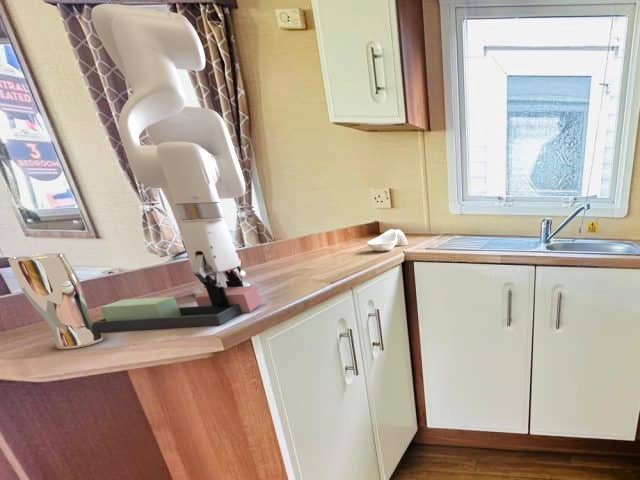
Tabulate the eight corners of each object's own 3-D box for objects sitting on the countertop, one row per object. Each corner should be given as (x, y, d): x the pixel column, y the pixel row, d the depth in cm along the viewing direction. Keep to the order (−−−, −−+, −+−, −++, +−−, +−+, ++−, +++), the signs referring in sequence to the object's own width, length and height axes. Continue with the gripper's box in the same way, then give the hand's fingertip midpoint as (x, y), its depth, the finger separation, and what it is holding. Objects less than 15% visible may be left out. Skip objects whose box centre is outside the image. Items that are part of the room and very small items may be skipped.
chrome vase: (102, 334, 79) (63, 251, 73) (110, 341, 75) (69, 254, 68) (51, 345, 74) (3, 257, 68) (56, 353, 70) (6, 261, 64)
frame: (130, 319, 88) (125, 310, 87) (242, 313, 90) (239, 303, 89) (96, 332, 80) (92, 322, 80) (220, 325, 82) (216, 315, 81)
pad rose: (216, 305, 94) (209, 288, 92) (262, 302, 95) (256, 285, 93) (201, 315, 89) (193, 297, 87) (250, 312, 90) (243, 294, 88)
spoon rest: (389, 252, 167) (386, 233, 164) (363, 252, 170) (359, 234, 166) (414, 244, 188) (412, 227, 185) (390, 245, 190) (388, 228, 187)
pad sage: (131, 318, 87) (122, 299, 85) (181, 315, 88) (174, 296, 86) (108, 327, 82) (99, 307, 80) (162, 324, 82) (154, 303, 81)
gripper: (207, 213, 91) (233, 295, 99) (151, 216, 76) (188, 314, 83) (242, 211, 92) (266, 292, 99) (194, 214, 76) (227, 311, 83)
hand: (230, 301), depth 91 cm, fingers open, 6 cm apart
